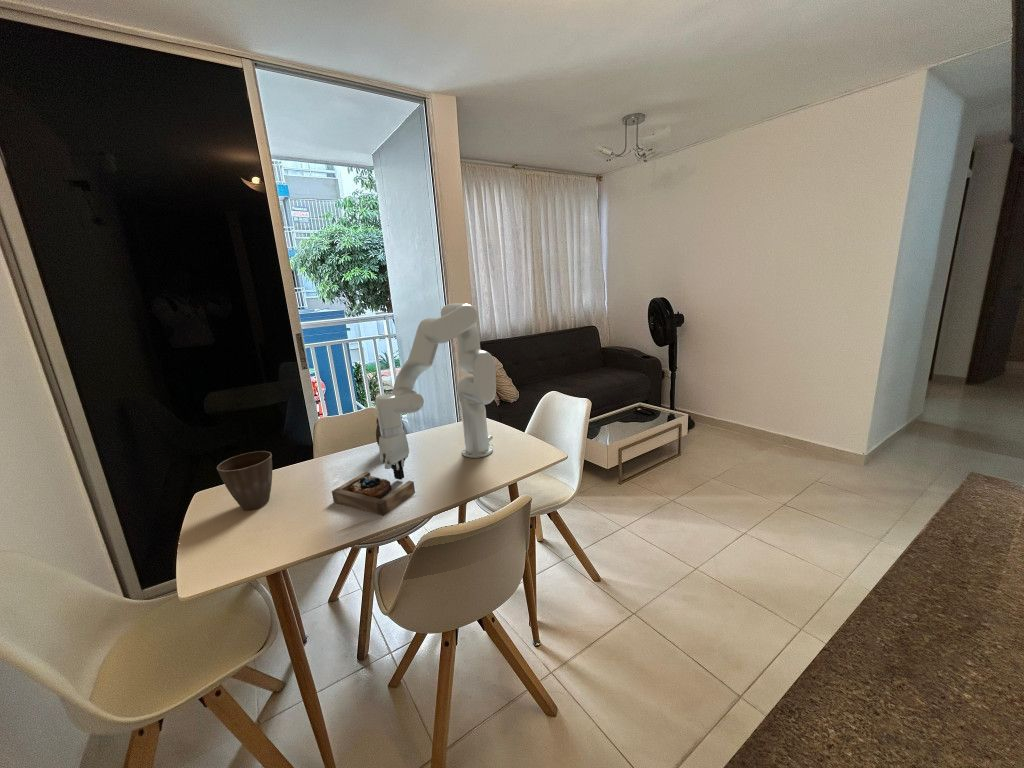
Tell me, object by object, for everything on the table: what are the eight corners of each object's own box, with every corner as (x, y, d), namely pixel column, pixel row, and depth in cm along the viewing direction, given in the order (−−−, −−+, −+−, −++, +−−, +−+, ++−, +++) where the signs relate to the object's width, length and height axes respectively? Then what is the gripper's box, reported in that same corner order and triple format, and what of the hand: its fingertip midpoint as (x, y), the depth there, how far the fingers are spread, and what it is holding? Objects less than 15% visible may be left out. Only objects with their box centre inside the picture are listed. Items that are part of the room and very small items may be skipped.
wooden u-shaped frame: (367, 481, 140) (365, 471, 139) (415, 492, 130) (413, 481, 129) (333, 502, 127) (331, 491, 126) (383, 515, 117) (381, 504, 116)
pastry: (372, 483, 139) (369, 468, 137) (396, 489, 133) (394, 473, 132) (346, 498, 129) (343, 482, 128) (372, 506, 124) (369, 489, 122)
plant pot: (236, 499, 134) (225, 456, 130) (285, 488, 139) (275, 447, 135) (222, 522, 120) (209, 475, 116) (277, 509, 125) (265, 464, 121)
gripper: (398, 421, 142) (405, 467, 147) (367, 436, 129) (376, 486, 134) (414, 423, 139) (421, 470, 143) (384, 439, 126) (392, 490, 130)
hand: (399, 478), depth 138 cm, fingers closed
